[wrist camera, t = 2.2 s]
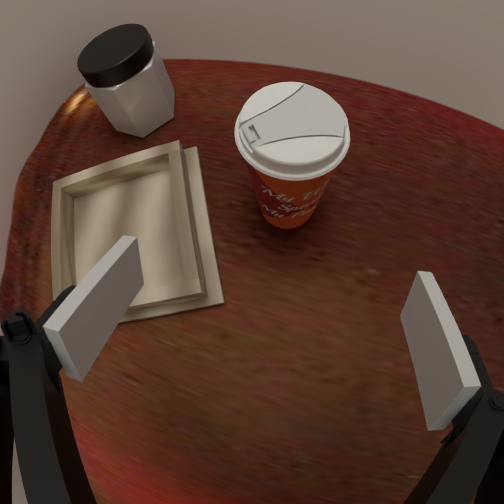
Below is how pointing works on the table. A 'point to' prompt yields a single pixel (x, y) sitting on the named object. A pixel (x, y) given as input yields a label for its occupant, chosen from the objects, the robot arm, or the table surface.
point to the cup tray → (140, 228)
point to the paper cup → (291, 148)
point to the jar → (128, 79)
